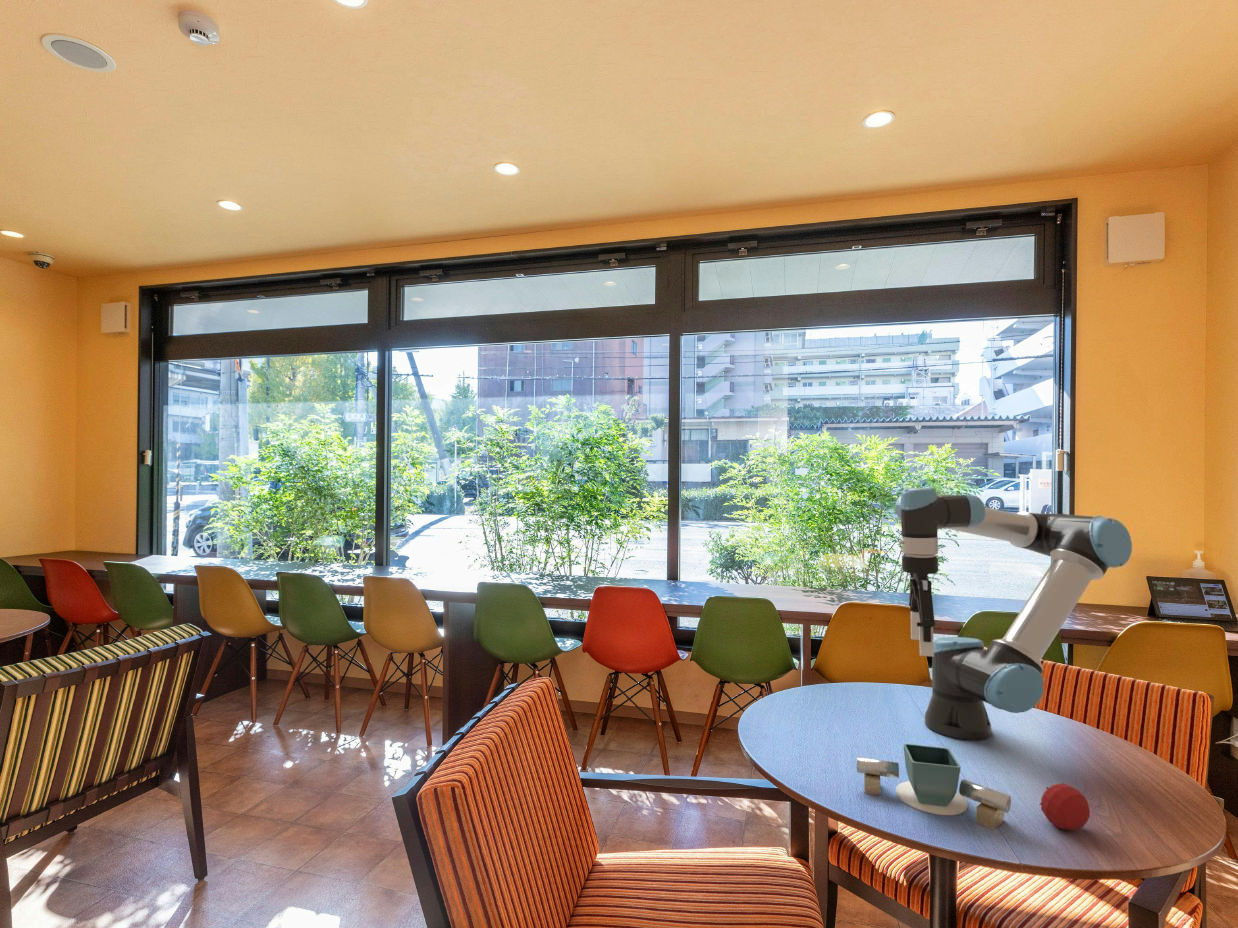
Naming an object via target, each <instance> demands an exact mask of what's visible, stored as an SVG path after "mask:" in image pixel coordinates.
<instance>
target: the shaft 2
mask: <svg viewBox="0 0 1238 928" xmlns="http://www.w3.org/2000/svg"><path fill="white" fill-rule="evenodd" d="M958 787H959V791H958V793H959V794H960V795H961V796H963V797H964V798H965V799H969V800H972V801H975V802H978V803H979V804H978V805H977V806H976V807H975V808H976V818H975V819H976V821H975V822H976V824H978V825H981V826H983V827H986V828H988V829H990V830H995V829H996V828H998V827H999V826H1000V825H1001V824H1002V823H1003V822H1004V821H1005V813H1006V814H1007V813H1009V812H1010V811H1011V806H1012V798H1011V796H1010V795H1008V794H1006V793H1003V792H1000V791H998V790H994V789H993V788H992V789H991V788H989V787H986V786H984V785H980V784H977V783H975V782H972V781H969V780H966V779H962V780H960V782H959V786H958Z"/></svg>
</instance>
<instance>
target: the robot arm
mask: <svg viewBox="0 0 1238 928" xmlns="http://www.w3.org/2000/svg"><path fill="white" fill-rule="evenodd" d="M894 506H895V507H894V508H895V509H894V510H895V513H896V515H897V517H898V518H899V519H900V521H901V522H900V525H901V528H900V529H901V539H899V541H898V544H899V545H902V546H901V552H902V554H904V555H902V556H901V562H902V563H901V566H902V567H901V568H902V571H903V572H905V573H907V574H909V576H910V579H909V601H908V605H909V610H910V639H911V640H918V641H919V656H920V657H931V658H932V659H931V666H932V667H931V670H932V671H931V672H932V674H931V675H932V676H931V677H932V680H931V681H932V686H931V687H932V688H931V689H932V692H931V698H930V700H929V702H928V706H927V709H926V711H925V713H924V724H925V726H926V727H927V728H928V729H930V730H931V731H933V732H935V733H937V734H940V735H943V736H946V737H951V738H954V739H960V740H968V741H978V740H981V741H982V740H985V739H988V738H990V737H991V736H992V723H991V721H990V717H989V715H988V712H987V709H986V706H985V703H986V704H989V705H991V706H992V707H994V708H995V709H998V710H1002V711H1005V712H1009V713H1011V714H1012V713H1013V714H1018V713H1025V712H1029V711H1030V710H1032V709H1033V708H1034V707H1036V706H1037V705H1038V704H1039V702H1040V701H1041V699H1042V697H1043V695H1044V691H1045V689H1044V688H1043V687H1044V686H1045V680H1044V677H1043V675H1042V673H1043V672H1044V668H1043V667H1044V666H1043V665H1042V662H1041V660H1042V658H1043V657H1044V655H1045V654H1046V652H1047V651H1048V649H1049V647H1050V646H1051V644H1052V642H1053V641H1054V639H1055V638H1056V636H1057V635H1058V634H1059V632H1060V630H1061V629H1062V627H1063V625H1064V624H1065V623H1066V621H1067V619H1068V618H1069V616H1070V615H1071V613H1072V611H1073V610H1074V609H1075V607H1076V605H1077V604H1078V602H1079V600H1080V599H1081V597H1082V596H1083V594H1084V592H1085V591H1086V590H1087V588H1088V586H1089V585H1090V583H1091V581H1096V580H1101V579H1102V578H1104V576H1105V574H1106V572H1107V571H1108V570H1109V568H1113V569H1115V568H1119V567H1122V566H1124V565H1126V564H1127V563H1128V561H1129V560H1130V558H1131V556H1132V551H1133V541H1132V537H1131V534H1130V532H1129V530H1128V529H1127V527H1126V526H1125V525H1124V524H1123V523H1122V522H1121V521H1120V520H1117V519H1115V518H1111V517H1105V516H1104V517H1103V516H1102V515H1097V516H1093V515H1091V516H1089V515H1088V516H1087V515H1078V514H1076V515H1075V514H1067V513H1036V512H1028V511H1018V512H1015V513H1014V512H1010V511H1006V510H1000V509H996V508H995V509H994V508H990V507H985V504H984V501H982V499H981V498H980V497H978V496H977V495H975V494H973V495H972V494H959V495H957V494H954V495H952V494H937V490H936V489H935V488H934V487H933V488H932V487H908V488H904V489H902V491H901V493H900V495H899V497H898V498H897V499H896V502H895V505H894ZM938 529H948V530H952V531H956V532H959V533H960V532H962V533H967V534H972V535H976V536H980V537H986V538H990V539H995V540H1000V541H1005V542H1009V543H1010V544H1011V545H1012V546H1013V547H1016V548H1021V549H1024V550H1028V551H1032V552H1035V553H1037V554H1038V553H1039V554H1041V555H1043V556H1048V557H1050V558H1051V560H1052V562H1051V564H1050V566H1048V568H1047V570H1046V572H1045V573H1044V575H1043V576H1042V578H1041V579H1040V581H1039V582H1038V584H1036V587H1035V588H1034V590H1033V592H1032V593H1031V594H1030V596H1029V597H1028V599H1027V600H1026V602H1025V603H1024V605H1023V607H1022V608H1021V610H1020V611H1019V613H1018V614H1017V616H1016V617H1015V619H1014V621H1013V622H1012V624H1011V625H1010V626H1009V628H1008V630H1007V631H1006V633H1005V634H1004V636H1003V638H997V639H996V638H995V639H993V640H992V641H991V642H990V644H989V646H988V647H987V648H986V650H985V645H984V641H983V640H981V639H979V638H972V637H965V636H964V637H963V636H962V637H961V636H960V637H959V636H944V637H943V636H942V637H938V638H936V639H934V627H935V625H936V622H935V615H934V614H935V613H934V604H933V603H934V602H933V593H932V584H933V583H932V581H931V580H929V576H928V575H933V574H937V573H938V572H939V557H937V556H936V555H938V554H939V538H938V537H939V536H938V531H939V530H938Z"/></svg>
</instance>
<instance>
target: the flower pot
mask: <svg viewBox="0 0 1238 928" xmlns="http://www.w3.org/2000/svg"><path fill="white" fill-rule="evenodd" d="M903 753H904V754H903V755H904V762H905V763H904V764H905V770H906V774H907V777H908V778H907V779H908V781H910V783H911V786H912V788H913V790H914V792H915V795H916V797H917V799H918V801H919V802H920V803H923V804H932V805H940V806H947V805H948V804H949V803H950V802H951V801H952V800H953V798H954V796H955V794H956V792H957V791H958V787H959V781H960V774H961V767H962V766H961V765H960V763H959V762H958V760H957V759H956V757H955V755H954V754H953V753H952V751H951V749H950V748H948V747H941V746H931V745H930V746H929V745H922V744H921V745H919V744H912V743H903Z"/></svg>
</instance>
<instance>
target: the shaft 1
mask: <svg viewBox="0 0 1238 928" xmlns="http://www.w3.org/2000/svg"><path fill="white" fill-rule="evenodd" d="M856 773H858V774H859V773H860V774H863V782H864V783H863V786H864V788H863V791H864V794H870V795H875V796H881V777H885V778H892V779H897V780H900V764H899V762H896V761H895V762H894V761H890V760H882V759H875V758H869V757H863V756H856Z"/></svg>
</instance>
